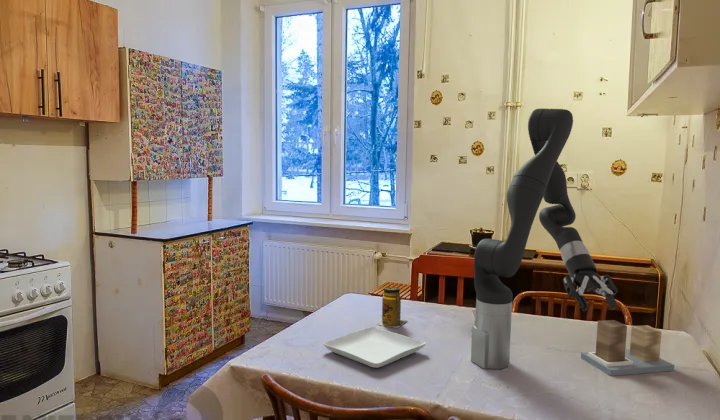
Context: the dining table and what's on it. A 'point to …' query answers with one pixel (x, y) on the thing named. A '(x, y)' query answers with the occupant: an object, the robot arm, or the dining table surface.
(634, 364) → the board
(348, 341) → the salad plate
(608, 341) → the walnut pillar
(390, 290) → the condiment
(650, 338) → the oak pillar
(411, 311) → the dining table surface
